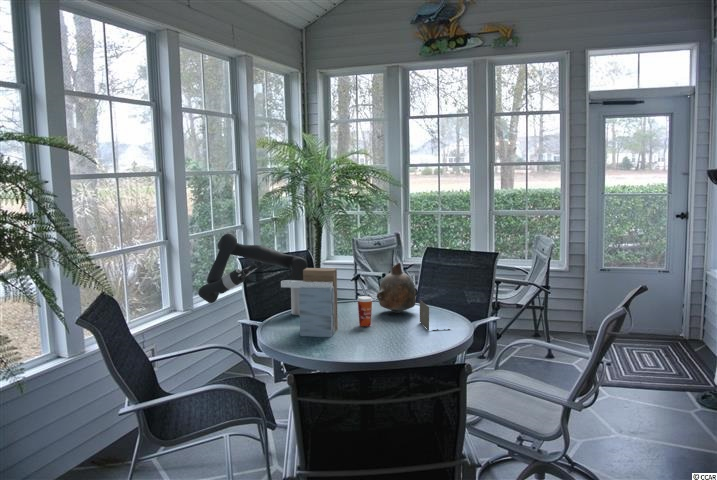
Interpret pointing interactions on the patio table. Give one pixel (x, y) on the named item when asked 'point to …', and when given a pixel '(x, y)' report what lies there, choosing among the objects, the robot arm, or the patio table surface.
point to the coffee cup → (364, 310)
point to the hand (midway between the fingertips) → (259, 264)
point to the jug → (397, 291)
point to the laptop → (424, 314)
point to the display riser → (318, 304)
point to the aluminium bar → (307, 284)
